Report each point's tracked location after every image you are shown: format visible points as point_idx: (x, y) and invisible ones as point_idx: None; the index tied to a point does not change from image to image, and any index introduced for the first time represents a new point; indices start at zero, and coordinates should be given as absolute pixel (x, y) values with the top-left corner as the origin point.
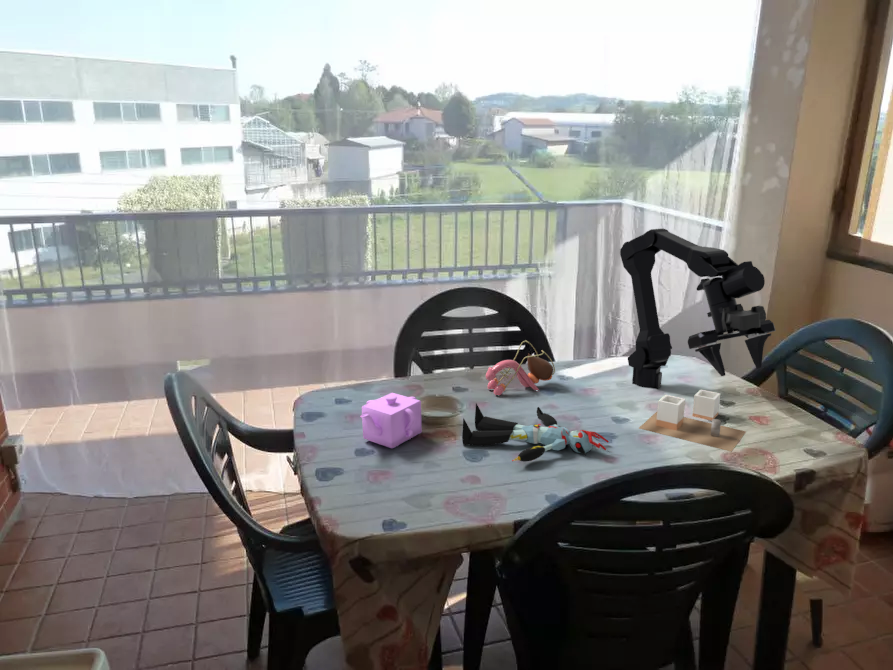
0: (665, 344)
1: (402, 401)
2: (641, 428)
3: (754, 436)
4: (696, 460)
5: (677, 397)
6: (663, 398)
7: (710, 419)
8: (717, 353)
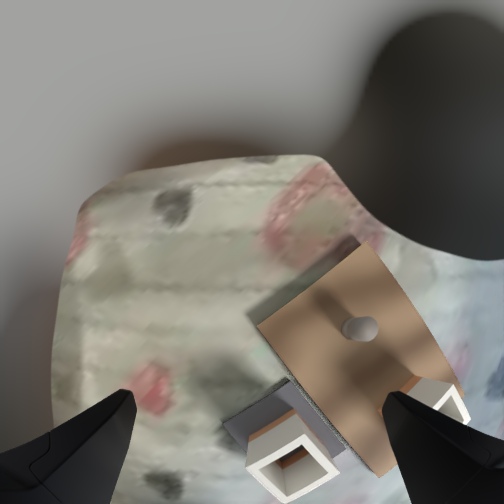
0: None
1: None
2: (462, 392)
3: (234, 318)
4: (428, 253)
5: None
6: None
7: (298, 415)
8: (496, 454)
